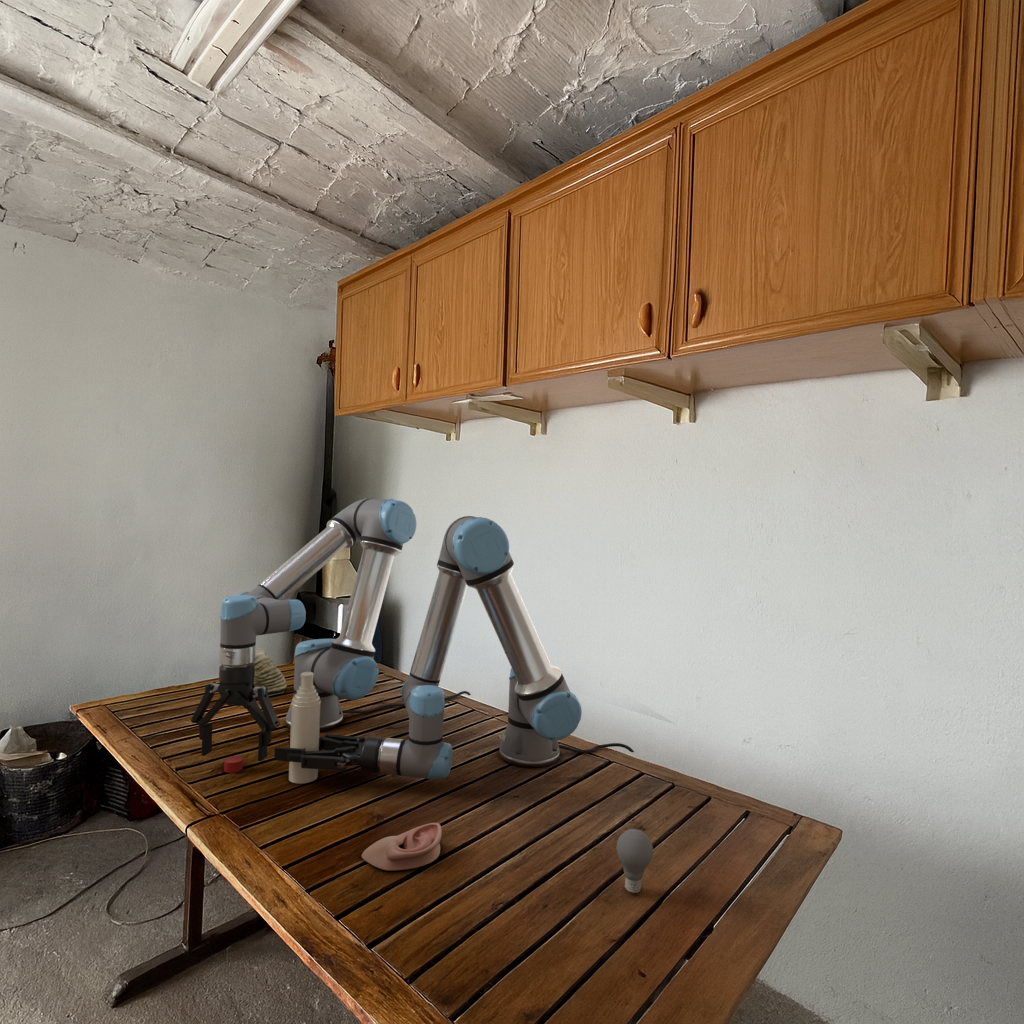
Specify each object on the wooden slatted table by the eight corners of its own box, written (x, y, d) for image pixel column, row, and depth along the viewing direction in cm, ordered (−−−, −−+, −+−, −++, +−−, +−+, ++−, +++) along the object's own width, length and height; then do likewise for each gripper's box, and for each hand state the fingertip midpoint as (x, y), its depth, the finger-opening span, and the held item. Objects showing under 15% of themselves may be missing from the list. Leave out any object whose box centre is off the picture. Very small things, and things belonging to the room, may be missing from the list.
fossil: (218, 695, 195) (220, 647, 195) (278, 685, 208) (279, 640, 207) (228, 703, 189) (230, 653, 188) (289, 692, 201) (290, 645, 201)
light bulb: (610, 879, 108) (613, 822, 108) (644, 879, 109) (647, 822, 109) (619, 902, 102) (622, 840, 102) (655, 901, 103) (658, 840, 103)
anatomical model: (354, 842, 109) (381, 811, 120) (353, 865, 109) (380, 831, 121) (427, 854, 107) (448, 821, 118) (426, 877, 107) (447, 842, 118)
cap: (233, 774, 142) (233, 764, 142) (220, 770, 144) (220, 760, 144) (246, 767, 146) (246, 757, 146) (233, 764, 148) (233, 754, 147)
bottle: (282, 778, 142) (286, 673, 141) (305, 769, 147) (309, 668, 146) (300, 786, 138) (304, 679, 138) (323, 776, 143) (327, 673, 143)
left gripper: (176, 664, 142) (173, 757, 143) (281, 672, 140) (278, 767, 140) (196, 656, 150) (193, 745, 150) (296, 663, 147) (293, 754, 147)
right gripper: (367, 792, 131) (260, 782, 133) (393, 755, 150) (300, 747, 153) (368, 756, 131) (262, 747, 133) (395, 724, 150) (301, 716, 152)
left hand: (234, 756), depth 145 cm, fingers open, 13 cm apart
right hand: (282, 747), depth 143 cm, fingers closed on bottle, 6 cm apart
